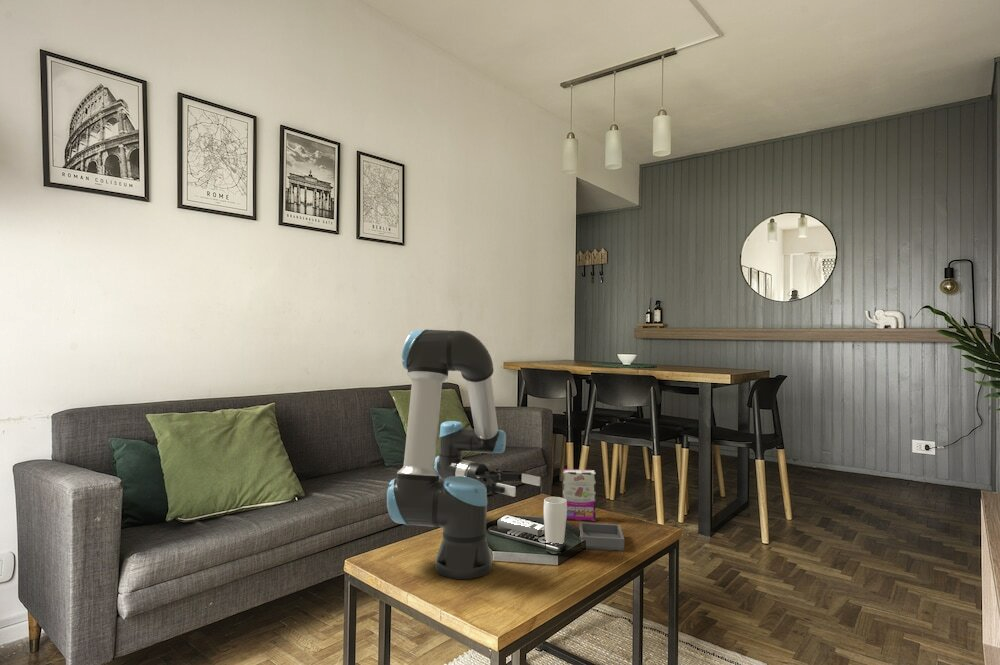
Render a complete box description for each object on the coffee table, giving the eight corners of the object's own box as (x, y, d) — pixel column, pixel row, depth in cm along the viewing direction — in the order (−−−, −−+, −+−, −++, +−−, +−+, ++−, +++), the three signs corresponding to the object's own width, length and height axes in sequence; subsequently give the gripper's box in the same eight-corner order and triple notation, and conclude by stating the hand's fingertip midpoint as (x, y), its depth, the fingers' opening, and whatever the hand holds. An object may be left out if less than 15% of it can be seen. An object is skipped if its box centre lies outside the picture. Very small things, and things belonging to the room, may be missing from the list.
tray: (580, 548, 165) (580, 536, 165) (579, 533, 177) (579, 522, 177) (624, 551, 163) (624, 539, 163) (619, 535, 176) (619, 524, 176)
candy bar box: (594, 517, 194) (595, 469, 194) (595, 521, 189) (596, 473, 189) (562, 515, 195) (563, 468, 195) (562, 520, 190) (563, 471, 190)
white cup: (565, 548, 165) (566, 497, 165) (566, 557, 158) (567, 504, 158) (542, 546, 166) (543, 496, 166) (542, 555, 159) (543, 502, 159)
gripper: (495, 477, 191) (548, 489, 179) (447, 494, 171) (503, 509, 158) (496, 455, 191) (549, 465, 178) (447, 470, 171) (503, 483, 158)
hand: (527, 486), depth 168 cm, fingers open, 13 cm apart
